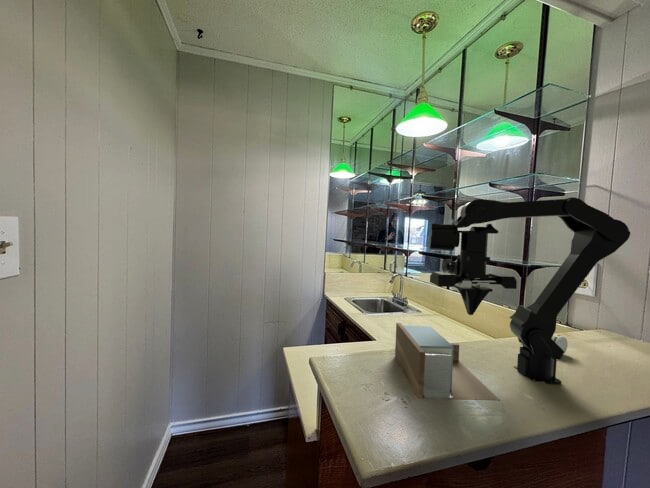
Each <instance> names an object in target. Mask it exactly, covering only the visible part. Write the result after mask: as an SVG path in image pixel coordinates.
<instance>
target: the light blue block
mask: <svg viewBox="0 0 650 488" xmlns="http://www.w3.org/2000/svg"><path fill="white" fill-rule="evenodd" d="M402 325H403V324H402ZM403 327H404V328H405V329H406V330H407V331H408V333H409V334H410V335H411V336H412V337H413V338H414V340H415V341H416V342H417V343H418V344H419V346H420V347H421V348H422V349H423V350H424V352H425V353H443V354H451V355H452V360H451V380H450V390H452V371H453V350H454V347H453V346H452V345H451V344H450V343H451V342H449V341H448V340H447V339H446V338H444V336H443V335H441V334H440V333H439V332H438V331H436V330H435V328H433V327H432V326H431V325H405V324H404V325H403Z"/></svg>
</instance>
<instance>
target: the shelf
mask: <svg viewBox="0 0 650 488" xmlns="http://www.w3.org/2000/svg"><path fill="white" fill-rule="evenodd" d="M449 343H450V344H451V345H452V346H453V347H454V350H453V371H452V390H450V394H451V396H452V397H453V399H452V400H474V401H475V400H479V401H501V400H500V398H499V397H497V395H496V394H494V393H493V392H492V390H490V388H489V387H487V386H486V385H485V384H484V383H483V382H482V381H481V380H480V379H479V378H478V377H476V375H474V373H472V372H471V371H470V370H469V369H468V368H467V367H466V366H465V365H464V364H463V363H462V362H461V361H460V360H459V359H460V344H459V343H455V342H453V343H451V342H449ZM394 345H395V350H394V351H395V352H394V358H395V359H396V361H397V363H398V365H399V367H400V368H401V370H402V372H403V374H404V375H405V378H406V379H407V381H408V383H409V384H410V387H411V388H412V390H413V391H414V393H415V395H416V397H417V399H425V398H424V396H423V391H424V369H425V352H424V350H423V349H422V348H421V347H420V346H419V344H418V343H417V342H416V341H415V340H414V338H413V337H412V336H411V335H410V334H409V333H408V331H407V330H406V329H405V328H404V327H403V324H402V323H401V322H396V324H395V344H394ZM436 399H438V400H439V399H442V400H446V399H445V398H436Z"/></svg>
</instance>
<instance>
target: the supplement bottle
mask: <svg viewBox="0 0 650 488" xmlns="http://www.w3.org/2000/svg"><path fill="white" fill-rule="evenodd" d="M552 340H553V341H554V342H555V343H556V344H557V345H558V346H559V347H560V348H561V349H562V350H563V351H564V353H563V355H565V354H566V352H567V349H568V339H567V338H566V337H565V336H563V335H560V334H557V333H554V334H553V337H552Z"/></svg>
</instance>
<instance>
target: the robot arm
mask: <svg viewBox="0 0 650 488" xmlns="http://www.w3.org/2000/svg"><path fill="white" fill-rule="evenodd" d="M459 213H460V215H459V216H458V217H457V218H456V220H455V221H454V222H453V223H451V224H450V223H449V224H448V223H447V224H446V223H444V224H443V223H437V222H436V223H431V224H430V229H429V230H430V231H429V235H428V250H429V251H447V252H449V251H450V252H451V251H452V252H453V251H455V248H459V246H460V253H459V254H457V256H456V260H455V261H453V260H452V259H451V258H450V259H449V258H444V259H442V262H441V263H442V264H441V269H442V271H432V272H431V273H430V276H429V283H431V284H433V285H435V286H437V287H441V288H442V287H444V288H445V287H446V288H447V287H448V288H455V289H457V290H458V292H459V294H460V296H461V299H462V301H463V305H464V307H465V310H466V311H465V312H466V313H467V315H469V316H474V314H475V312H476V311H477V309H478V307H479V306H480V305H481V303H482V301H483V300H484V299H485V298H486V296H488V294H489V293H490V292H491V293H492V292H493V289H492V288H490V285H500V286H501V287H502V288H503V289H505V290H506V289H507V290H508V289H510V290H511V289H512V290H516V289H517V288H518V281H517V279H516V278H515V276H513V275H508V274H504V273H487V262H491V256H488V238H489V234H491V235H492V234H499V233H500V232H499V230H497V229H496V228H495V227H494V226H493V224H492V223H490V222H494V221H498V220H504V219H522V218H525V219H526V218H540V217H541V218H542V217H544V218H545V217H558V218H559V219H561V221H562V222H563V223H564V224H565V226H566V227H567V228H568V229H569V230H570V231H572V232H573V233H574V235H573V236H572V239H571V242H570V243H571V245H570V252H569V254H568V256H567V257H566V258H565V260H564V261H563V262H562V264H561V265H560V267H559V268H558V269H557V271H556V272H555V273H554V275H553V276H552V278H551V279H550V281H549V282H548V283H547V284H546V285H545V287H544V289H542V290H541V293H540V294H539V295H538V296H537V298H536V299H535V301H534V302H533V303H532V304H530V305H528V306H527V307H525V306H524V305H521V304H519V305H518V306H517V308H516V309H515V312H514V314H512V315H511V316H509V318H510V319H511V320H510V322H509V328H510V331H511V332H512V333H513V335H514V336H515V337H517V341H518V342H519V343H520V344H521V345H522V346H519V353H518V354H517V364H516V365H517V366H513V368H514V369H515V370H517V371H518V372H519V373H520V374H522V375H523V376H525V377H527V378H528V379H530V380H531V381H532V382H539V383H540V382H542V383H546V384H552V385H553V384H559V385H562V384H563V383H562V380H560V379H559V378H557V377H556V375H557V374H556V373H557V362H558V360H561V359H562V357H563V356H564V354H565V353H564V351H563V350H562V349H561V348H560V347H559V346H558V345H557V344H556V343H555V342H554V341H553V340H552V337H553V334H555V333H556V329H557V319H558V316H559V314H560V313H561V311H562V310H563V309H564V307H565V306H566V305H567V303H568V302H569V301H570V299H571V298H572V297H573V295H574V294H575V293H576V291H577V290H578V289H579V287H580V286H581V285H582V284H583V282H584V280H585V279H586V278H587V276H588V275H589V274H590V273H591V272H592V270H593V269H594V267H595V266H596V265H597V264H598V262H600V261H602V260H604V259H606V258H607V257H608V256H611V255H612V254H613V253H615V252H617V251H618V250H619V249H620V248H621V247H622V246H623V245H624V244H626V242H628V240H629V239H630V237H631V231H630V229H629V226H627V224H626V223H625V222H624V221H622V220H619V219H615V218H613V217H612V216H611V215H610V214H607V212H604V211H602V210H600V209H597V208H595V207H593V206H591V205H589V204H588V203H586V202H585V201H584V200H582V199H580V198H578V197H573V196H572V197H571V196H570V197H566V198H561V199H560V198H558V199H556V198H555V199H542V200H540V199H539V200H527V201H526V200H525V201H512V202H510V201H508V202H507V201H506V202H505V201H500V200H495V199H484V198H477V199H474V200H471V201H469V202H467V203H465V204H464V205H463V206H462V207H461V209H460V212H459ZM485 223H487V224H485ZM478 224H479V225H480V224H485V226H471V225H478ZM470 226H471V227H470ZM468 227H470V229H469V230H459V229H462V228H468ZM460 234H461V235H460ZM563 353H564V354H563Z"/></svg>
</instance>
